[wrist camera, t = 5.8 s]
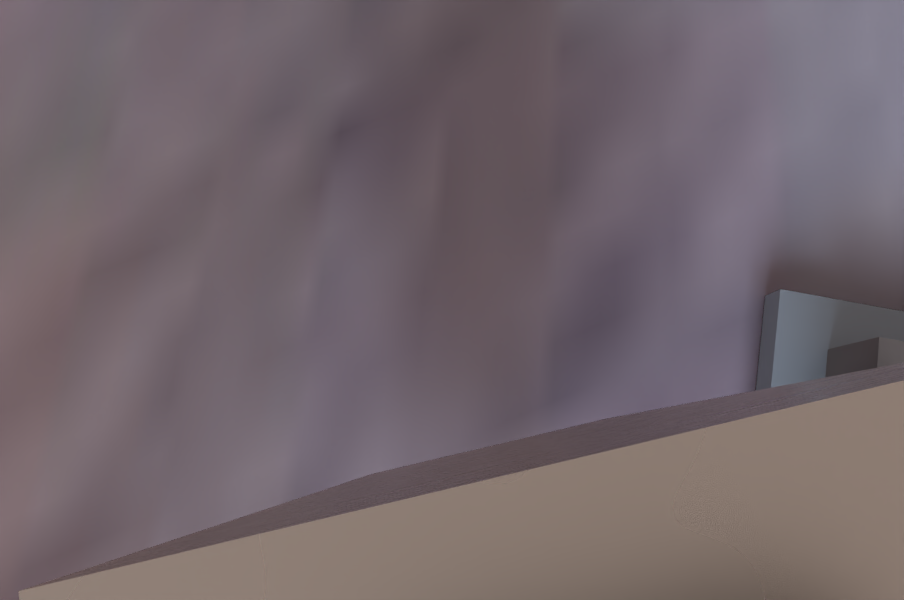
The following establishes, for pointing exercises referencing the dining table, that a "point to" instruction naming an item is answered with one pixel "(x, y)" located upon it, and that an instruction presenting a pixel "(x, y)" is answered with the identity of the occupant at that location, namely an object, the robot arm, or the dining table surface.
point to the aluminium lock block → (582, 515)
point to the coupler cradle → (824, 338)
